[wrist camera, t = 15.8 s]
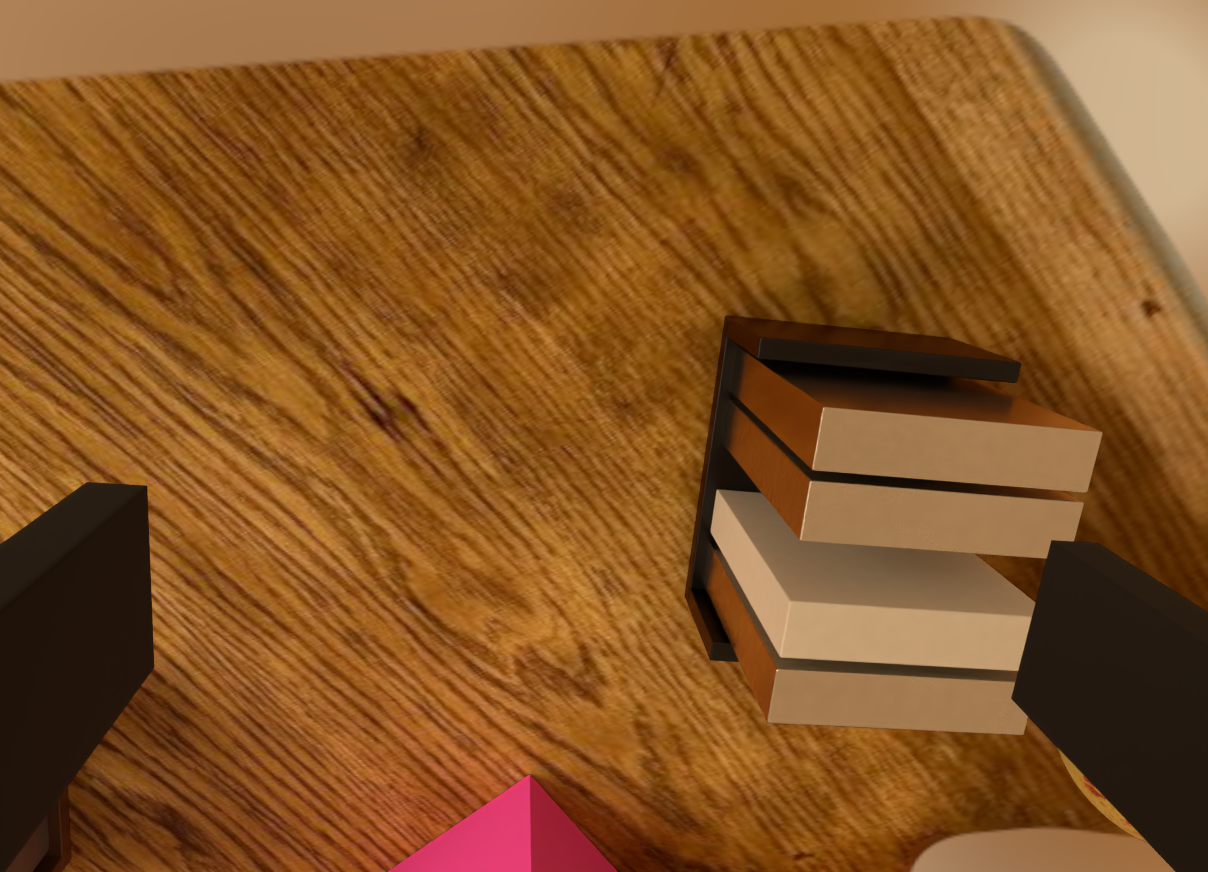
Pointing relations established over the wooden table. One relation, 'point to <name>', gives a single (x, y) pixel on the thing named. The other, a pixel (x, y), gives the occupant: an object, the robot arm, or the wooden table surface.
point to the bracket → (511, 839)
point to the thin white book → (869, 596)
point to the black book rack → (878, 498)
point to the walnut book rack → (47, 842)
